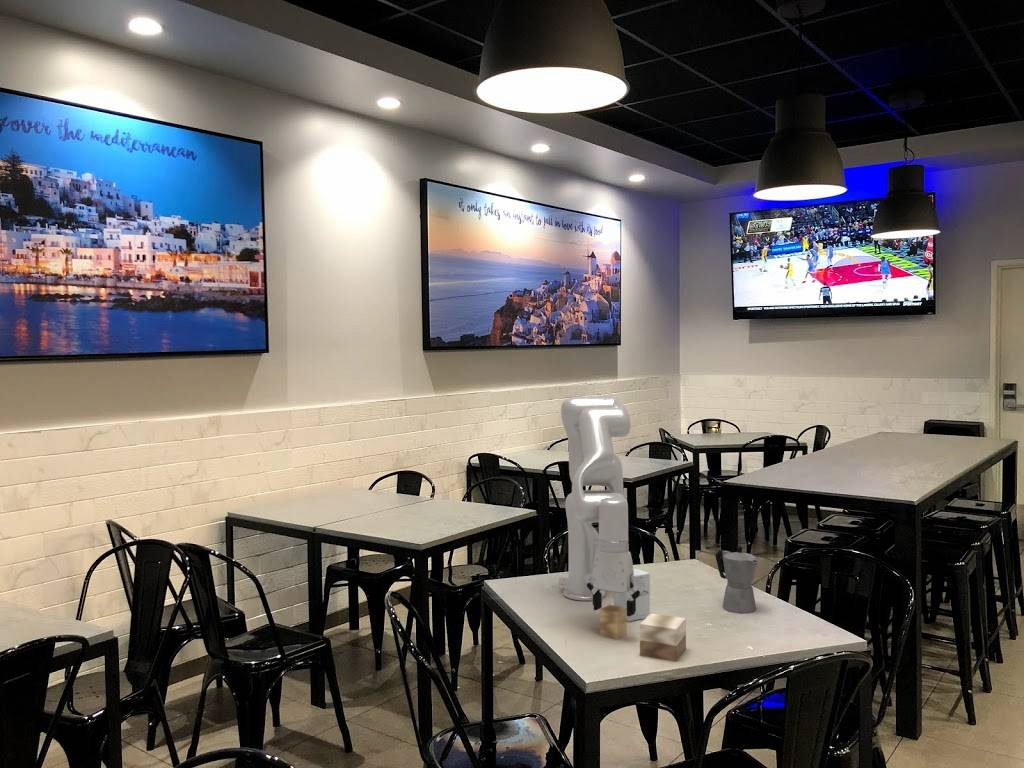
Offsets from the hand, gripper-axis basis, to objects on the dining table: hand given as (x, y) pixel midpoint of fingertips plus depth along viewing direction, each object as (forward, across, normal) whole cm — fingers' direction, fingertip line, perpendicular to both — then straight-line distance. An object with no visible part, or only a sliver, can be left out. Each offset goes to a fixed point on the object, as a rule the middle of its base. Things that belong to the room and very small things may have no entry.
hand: (614, 612), depth 216 cm
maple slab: (+3, +15, -3) cm, 16 cm away
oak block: (+6, -1, +1) cm, 6 cm away
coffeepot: (+6, +17, +41) cm, 45 cm away
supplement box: (+6, -4, +17) cm, 18 cm away
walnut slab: (+7, +15, -4) cm, 17 cm away
